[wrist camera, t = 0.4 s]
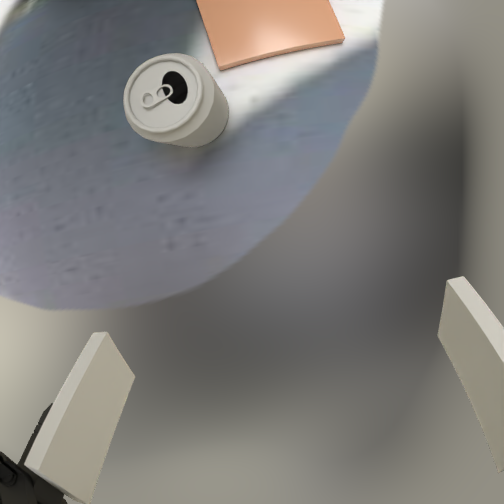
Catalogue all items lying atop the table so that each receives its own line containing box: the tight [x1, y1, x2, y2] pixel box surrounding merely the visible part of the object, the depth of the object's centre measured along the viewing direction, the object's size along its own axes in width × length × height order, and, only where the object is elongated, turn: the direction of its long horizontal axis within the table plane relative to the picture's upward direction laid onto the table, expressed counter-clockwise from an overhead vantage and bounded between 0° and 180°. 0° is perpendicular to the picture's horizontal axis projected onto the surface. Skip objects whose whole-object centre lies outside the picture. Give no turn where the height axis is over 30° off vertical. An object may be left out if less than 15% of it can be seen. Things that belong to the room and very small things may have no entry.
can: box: [123, 53, 229, 147], centre depth 26 cm, size 8×8×12 cm
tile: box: [196, 0, 345, 71], centre depth 27 cm, size 14×14×2 cm
